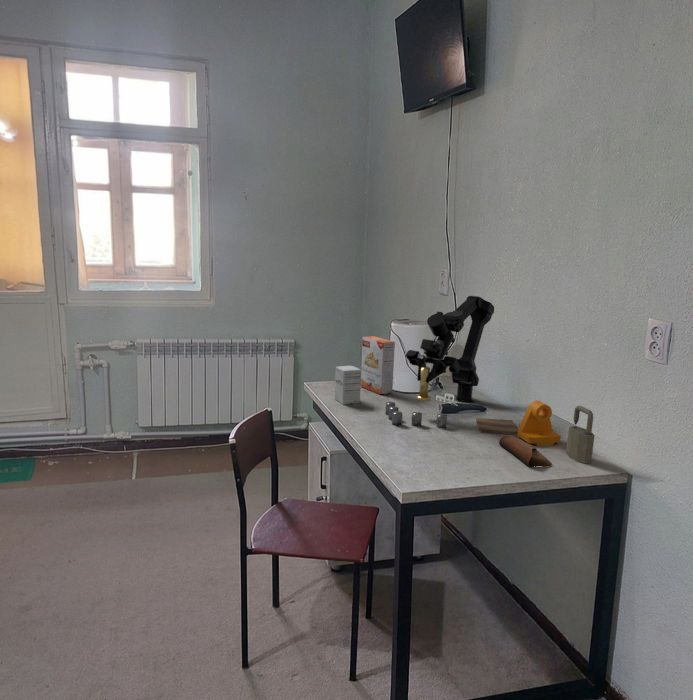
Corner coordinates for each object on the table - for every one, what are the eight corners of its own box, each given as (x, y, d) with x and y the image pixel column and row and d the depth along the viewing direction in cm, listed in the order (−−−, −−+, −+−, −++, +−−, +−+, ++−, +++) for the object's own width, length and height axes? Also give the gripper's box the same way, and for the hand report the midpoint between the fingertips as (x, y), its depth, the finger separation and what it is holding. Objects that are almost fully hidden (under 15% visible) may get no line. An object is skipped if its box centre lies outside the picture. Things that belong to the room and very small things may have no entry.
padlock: (575, 452, 172) (581, 403, 170) (593, 463, 165) (599, 411, 162) (563, 453, 171) (569, 403, 169) (581, 464, 164) (587, 412, 161)
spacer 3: (391, 422, 194) (392, 410, 193) (401, 423, 194) (402, 411, 193) (391, 425, 191) (392, 413, 190) (401, 426, 191) (402, 414, 190)
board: (475, 420, 199) (476, 418, 199) (512, 423, 198) (512, 420, 198) (480, 432, 188) (481, 429, 187) (519, 434, 187) (519, 431, 186)
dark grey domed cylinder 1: (385, 412, 205) (386, 401, 204) (394, 413, 205) (395, 402, 204) (385, 415, 202) (386, 404, 201) (394, 415, 202) (395, 404, 201)
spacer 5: (436, 425, 193) (437, 413, 192) (446, 425, 193) (446, 414, 192) (436, 428, 190) (437, 416, 189) (446, 429, 190) (447, 417, 189)
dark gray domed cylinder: (411, 423, 194) (412, 411, 194) (421, 423, 194) (421, 412, 193) (411, 426, 191) (412, 414, 190) (421, 426, 191) (422, 415, 190)
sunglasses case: (556, 466, 161) (547, 447, 159) (535, 480, 160) (526, 460, 159) (523, 443, 178) (515, 426, 176) (504, 456, 178) (495, 438, 176)
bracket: (529, 446, 177) (533, 407, 175) (517, 438, 184) (520, 401, 181) (561, 444, 179) (565, 406, 177) (548, 436, 186) (552, 400, 184)
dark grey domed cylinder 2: (388, 417, 200) (389, 406, 199) (398, 418, 199) (398, 406, 199) (388, 420, 197) (389, 408, 196) (397, 420, 196) (398, 409, 196)
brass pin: (416, 397, 203) (418, 365, 200) (430, 397, 202) (432, 366, 200) (416, 400, 198) (418, 369, 196) (431, 401, 198) (433, 369, 195)
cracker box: (359, 387, 238) (361, 336, 234) (371, 385, 242) (374, 335, 238) (380, 395, 227) (383, 342, 223) (392, 393, 230) (395, 341, 226)
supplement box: (333, 399, 219) (335, 366, 217) (351, 397, 222) (353, 365, 220) (342, 404, 213) (343, 370, 210) (360, 403, 216) (362, 369, 213)
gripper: (409, 326, 204) (390, 362, 198) (458, 333, 193) (439, 372, 187) (420, 346, 212) (402, 381, 205) (467, 354, 201) (450, 391, 194)
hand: (422, 381), depth 198 cm, fingers closed on brass pin, 3 cm apart
